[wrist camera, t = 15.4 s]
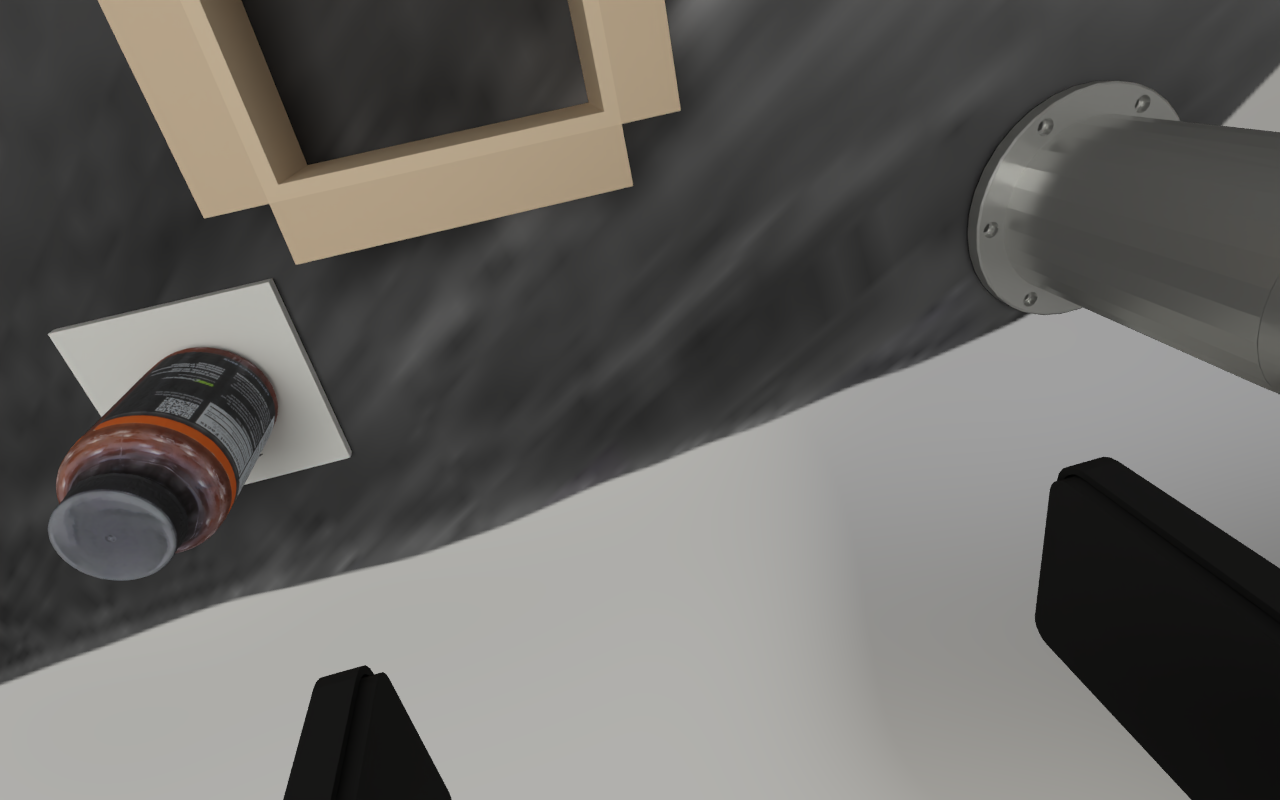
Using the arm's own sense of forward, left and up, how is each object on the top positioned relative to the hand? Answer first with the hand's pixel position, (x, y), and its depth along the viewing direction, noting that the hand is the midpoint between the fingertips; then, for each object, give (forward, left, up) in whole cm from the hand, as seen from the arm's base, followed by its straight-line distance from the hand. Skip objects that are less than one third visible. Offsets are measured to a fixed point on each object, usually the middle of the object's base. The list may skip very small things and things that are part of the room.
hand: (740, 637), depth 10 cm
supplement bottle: (+19, +5, -28) cm, 34 cm away
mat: (+19, +5, -28) cm, 34 cm away
